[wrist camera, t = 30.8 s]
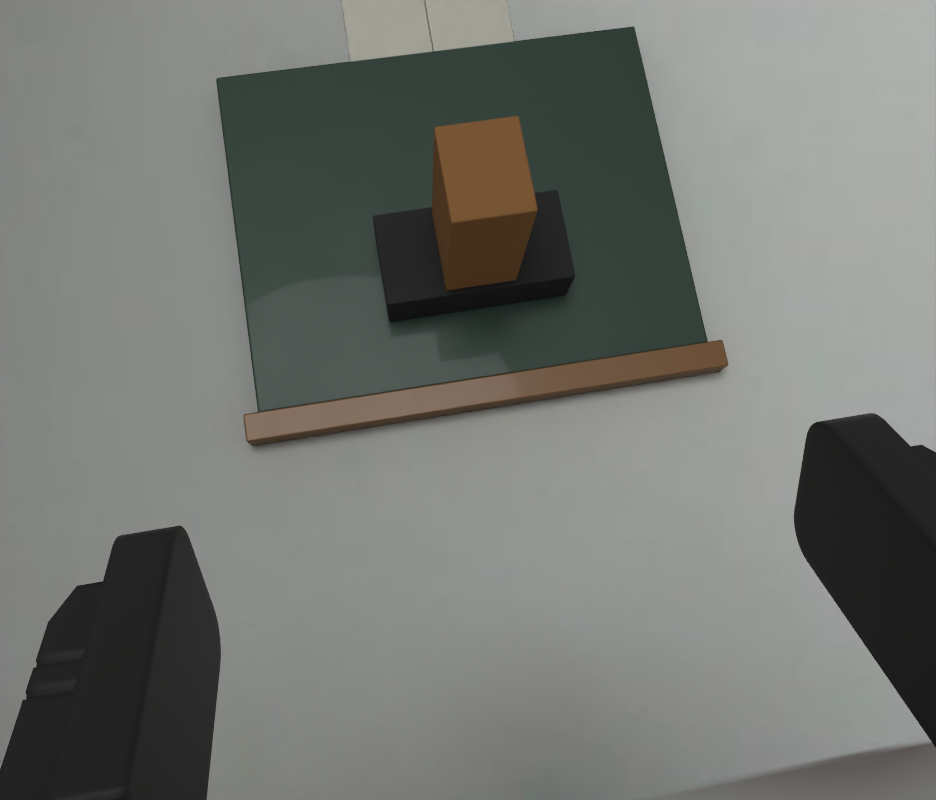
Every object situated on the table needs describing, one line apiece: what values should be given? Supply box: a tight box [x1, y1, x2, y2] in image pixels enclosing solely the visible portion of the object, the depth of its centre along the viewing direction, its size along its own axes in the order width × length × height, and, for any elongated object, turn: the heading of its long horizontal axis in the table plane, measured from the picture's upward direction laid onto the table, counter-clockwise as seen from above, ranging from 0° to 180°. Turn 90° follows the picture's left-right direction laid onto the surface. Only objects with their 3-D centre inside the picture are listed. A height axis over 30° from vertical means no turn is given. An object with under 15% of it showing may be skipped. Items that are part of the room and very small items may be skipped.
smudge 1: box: [341, 0, 433, 62], centre depth 42 cm, size 4×4×1 cm
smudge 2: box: [425, 0, 514, 51], centre depth 43 cm, size 4×4×1 cm
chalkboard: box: [216, 27, 728, 446], centre depth 40 cm, size 21×17×1 cm
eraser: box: [373, 116, 575, 322], centre depth 34 cm, size 8×4×10 cm, turn 100°
